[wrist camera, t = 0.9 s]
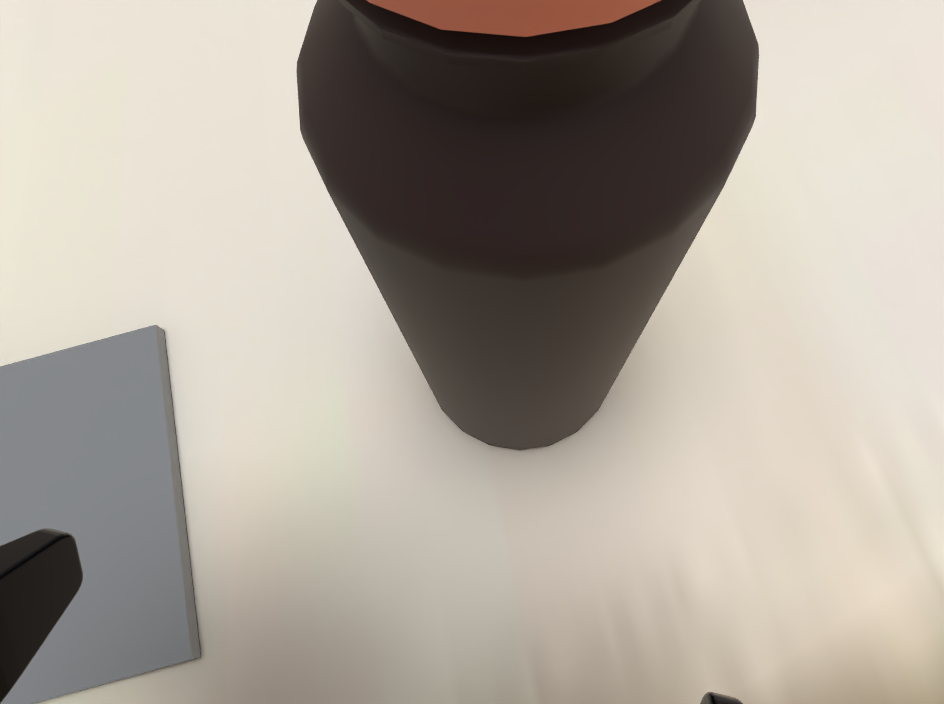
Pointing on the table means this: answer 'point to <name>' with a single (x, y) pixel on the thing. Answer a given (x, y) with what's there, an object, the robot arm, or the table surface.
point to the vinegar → (525, 180)
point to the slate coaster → (101, 507)
